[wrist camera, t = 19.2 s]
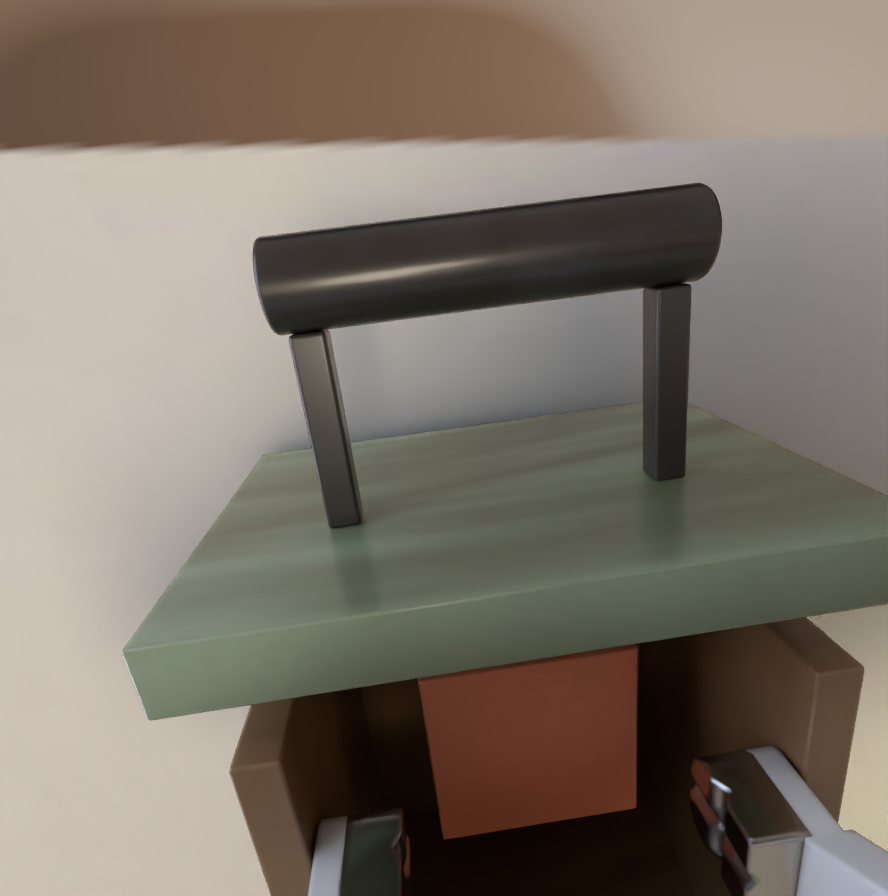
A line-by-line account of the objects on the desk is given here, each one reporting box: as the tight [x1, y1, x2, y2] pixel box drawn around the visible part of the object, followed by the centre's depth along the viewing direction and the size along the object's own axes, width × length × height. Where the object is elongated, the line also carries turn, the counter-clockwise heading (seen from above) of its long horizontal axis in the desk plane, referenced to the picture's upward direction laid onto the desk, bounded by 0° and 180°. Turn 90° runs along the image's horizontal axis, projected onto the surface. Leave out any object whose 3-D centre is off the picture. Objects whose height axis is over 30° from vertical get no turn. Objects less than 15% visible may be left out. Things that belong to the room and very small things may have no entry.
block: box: [418, 644, 638, 839], centre depth 13 cm, size 4×4×4 cm
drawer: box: [122, 183, 888, 896], centre depth 12 cm, size 18×11×8 cm, turn 7°
